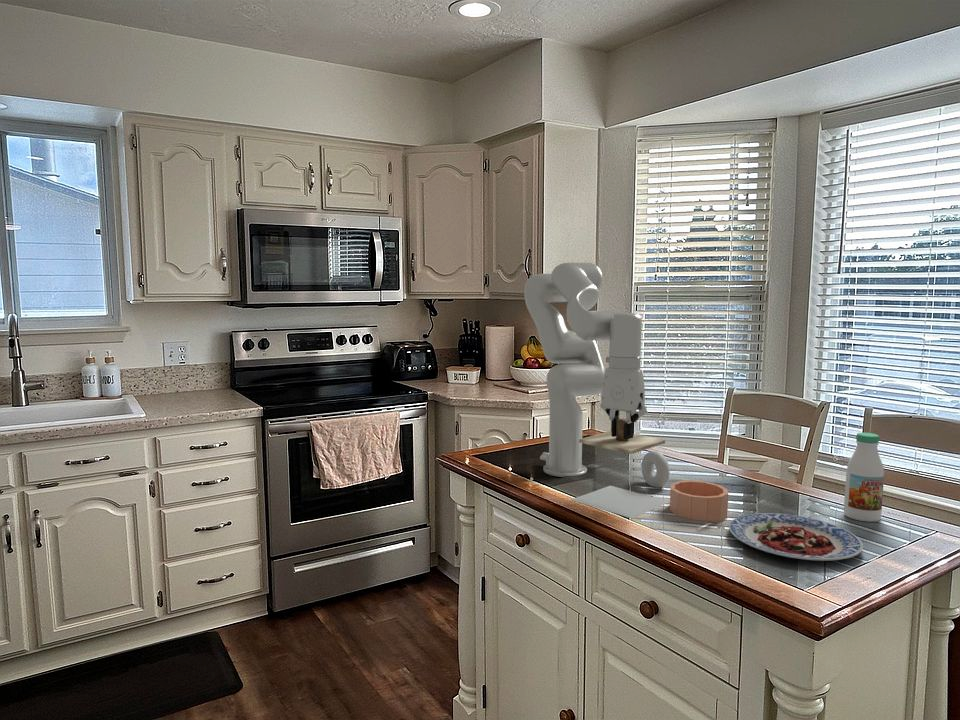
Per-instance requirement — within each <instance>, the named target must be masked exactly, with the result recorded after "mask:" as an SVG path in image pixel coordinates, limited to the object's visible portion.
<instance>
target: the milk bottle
mask: <svg viewBox="0 0 960 720" xmlns="http://www.w3.org/2000/svg"><path fill="white" fill-rule="evenodd" d="M855 442H856V448H855V450H854V452H853V454H852V455H851V457H850V459H849V460H848V463H847V467H846V474H845V484H844V485H845V486H844V498H843V499H844V501H843V514H844V516H845V517H847V518H849V519H852V520H856V521H861V522H867V523H871V522H872V523H875V522H879V521H880V520H881V518H882V511H883V510H882V508H883V498H884V497H883V496H884V481H885V469H884V464H883V461H882V459H881V457H880V454H879V450H878V446H879V443H880V436H879V435H878V434H876V433H873V432H872V433H871V432H858V433H857V434H856V441H855Z"/></svg>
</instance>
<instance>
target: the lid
mask: <svg viewBox="0 0 960 720" xmlns="http://www.w3.org/2000/svg"><path fill="white" fill-rule="evenodd" d="M625 423H627V422H626V418H619V419H617V424H616V436H615V437H612V436H611V433H612V432H611V430H609V431H606V432H602V433H598V434H594V435H590V436H586V437H582V439H579V442H580V443H582V444H584V445H587V446H594V447H598V448H602V449H606V450H611V451H615V452H620V453H625V454H629V455H632V454H636V453H638V452H641V451H644V450H648V449H652V448H654V447H657V446H661V445H664V444H666V439H662V438H657V437H656V438H655V437H651V436H645V435H641V434H635V433H634V435H633V438H630V439H624V424H625Z"/></svg>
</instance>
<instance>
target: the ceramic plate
mask: <svg viewBox="0 0 960 720" xmlns="http://www.w3.org/2000/svg"><path fill="white" fill-rule="evenodd" d="M728 529H729V532H730V533H731V534H732V535H733V537H735V538H736V539H737V540H739V542H742V543H743V544H746V545H747V546H750V547H751V548H755V549H757V550H760V551H763V552H765V553H769V554H773V555H776V556H779V557H780V556H781V557H786V558H792V559H799V560H805V561H818V562H819V561H824V562H825V561H839V560H844V559H850V558H851V559H852V558H853V557H856V556H858V555H859V554H860V553H861V552H862V551H863V549H864V544H863V542H862V540H861V539H860V538H859V537H858V536H856V535H855V534H853V533H852V532H851V531H849V530H847V529H846V528H842V527H840V526H839V525H836V524H833V523H830V522H827V521H824V520H820V519H815V518H812V517H808V516H807V517H806V516H803V515H795V514H787V513H775V512H774V513H773V512H765V513H764V512H761V513H750V514H745V515H741V516H738V517H736V518H734V519H732V520H731V521H730V523H729V524H728Z"/></svg>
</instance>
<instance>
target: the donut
mask: <svg viewBox="0 0 960 720" xmlns="http://www.w3.org/2000/svg"><path fill="white" fill-rule="evenodd" d="M654 467H655V468H654ZM655 469H656V472H655ZM640 471H641V474H642V478H643V479H644V481H645V483H646V484H647V485H648V486H650V487H653V488H657V489H659V488H662V487H664V486H666V485H667V483H668V482H669V478H670V465H669V462H668V460H667V458H666V457H665V455H664V454H663V453H661V452H659V451H658V450H657V451H656V450H650V451H648V452H646V453H645V454H644V455H643V458H642V461H641V464H640Z"/></svg>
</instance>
